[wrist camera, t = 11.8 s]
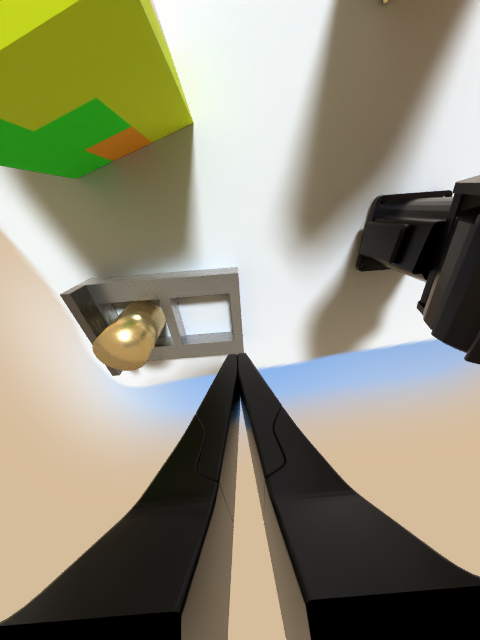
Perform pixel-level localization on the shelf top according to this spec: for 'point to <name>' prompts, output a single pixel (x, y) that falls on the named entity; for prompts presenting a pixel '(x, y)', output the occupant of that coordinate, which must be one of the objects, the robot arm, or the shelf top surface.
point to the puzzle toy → (83, 83)
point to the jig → (98, 312)
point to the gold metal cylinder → (130, 336)
